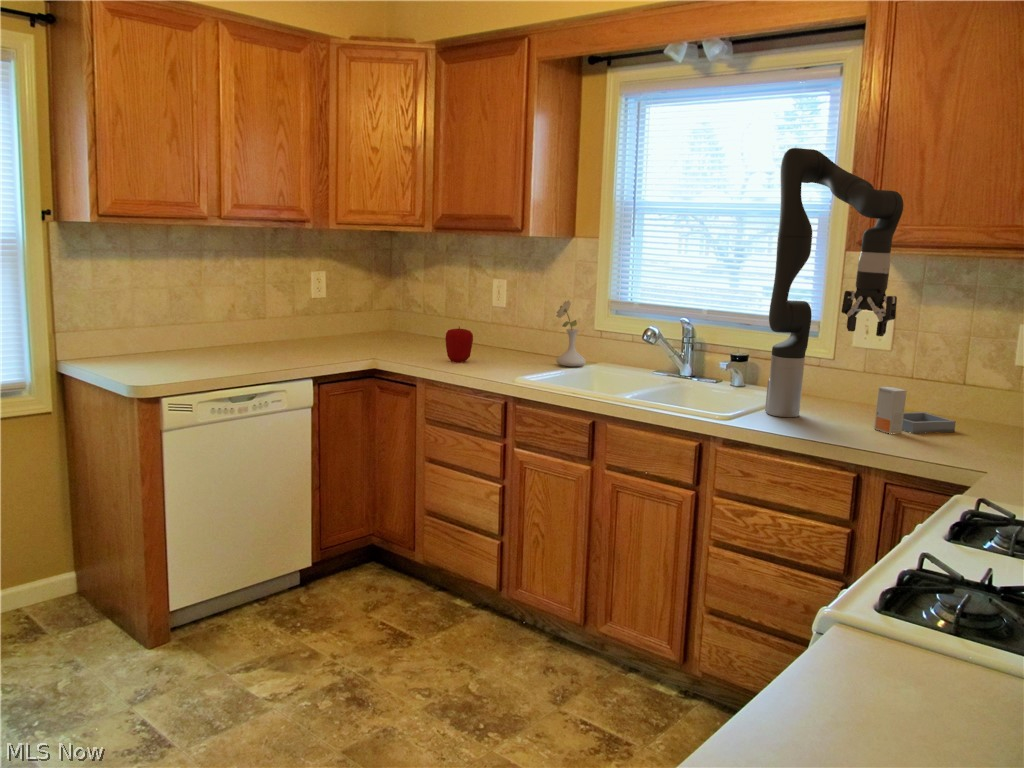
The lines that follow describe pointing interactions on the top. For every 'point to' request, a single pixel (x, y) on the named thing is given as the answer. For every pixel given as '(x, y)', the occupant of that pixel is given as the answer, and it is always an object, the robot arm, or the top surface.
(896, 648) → the top surface
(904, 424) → the tray
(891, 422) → the skincare box
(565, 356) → the flower in vase
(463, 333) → the apple
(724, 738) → the top surface
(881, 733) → the top surface
